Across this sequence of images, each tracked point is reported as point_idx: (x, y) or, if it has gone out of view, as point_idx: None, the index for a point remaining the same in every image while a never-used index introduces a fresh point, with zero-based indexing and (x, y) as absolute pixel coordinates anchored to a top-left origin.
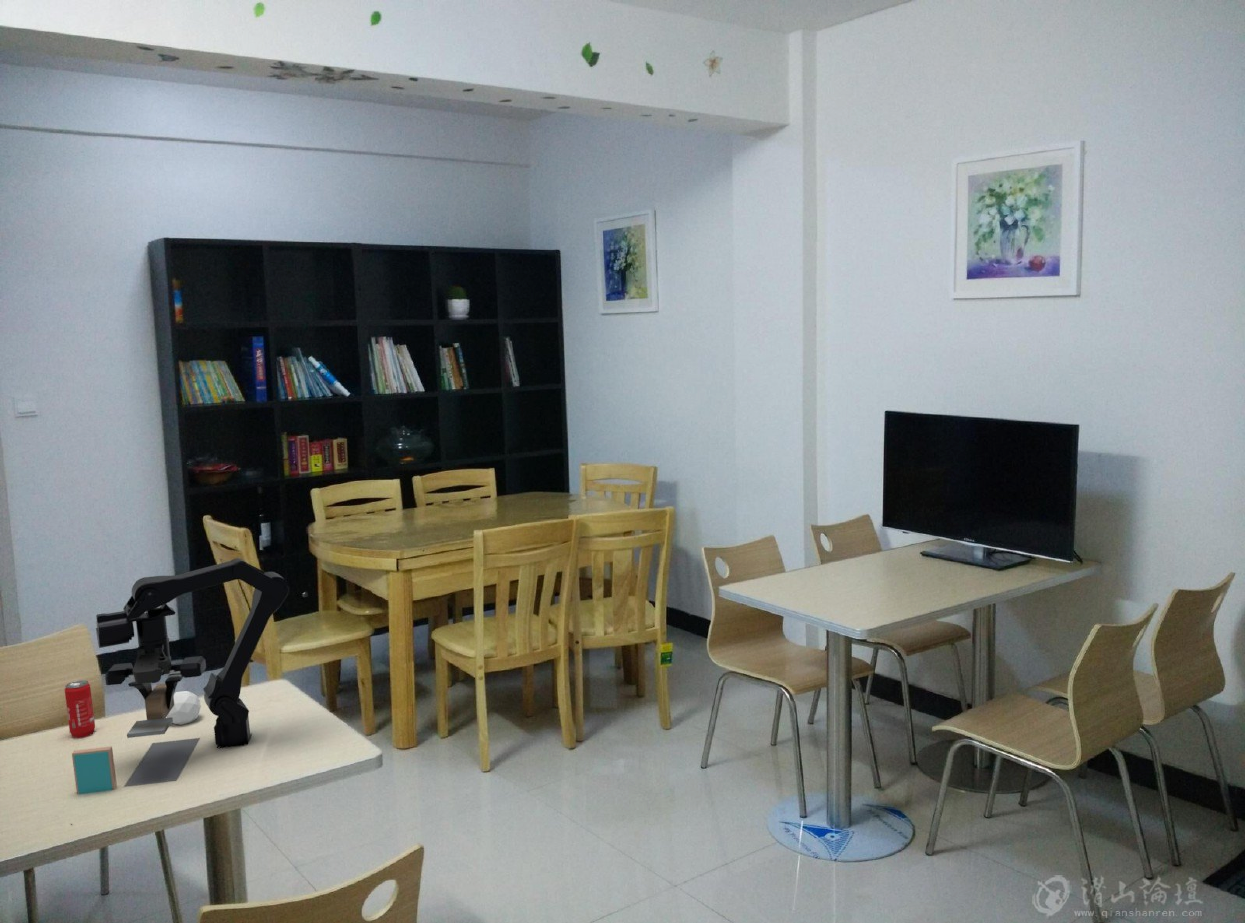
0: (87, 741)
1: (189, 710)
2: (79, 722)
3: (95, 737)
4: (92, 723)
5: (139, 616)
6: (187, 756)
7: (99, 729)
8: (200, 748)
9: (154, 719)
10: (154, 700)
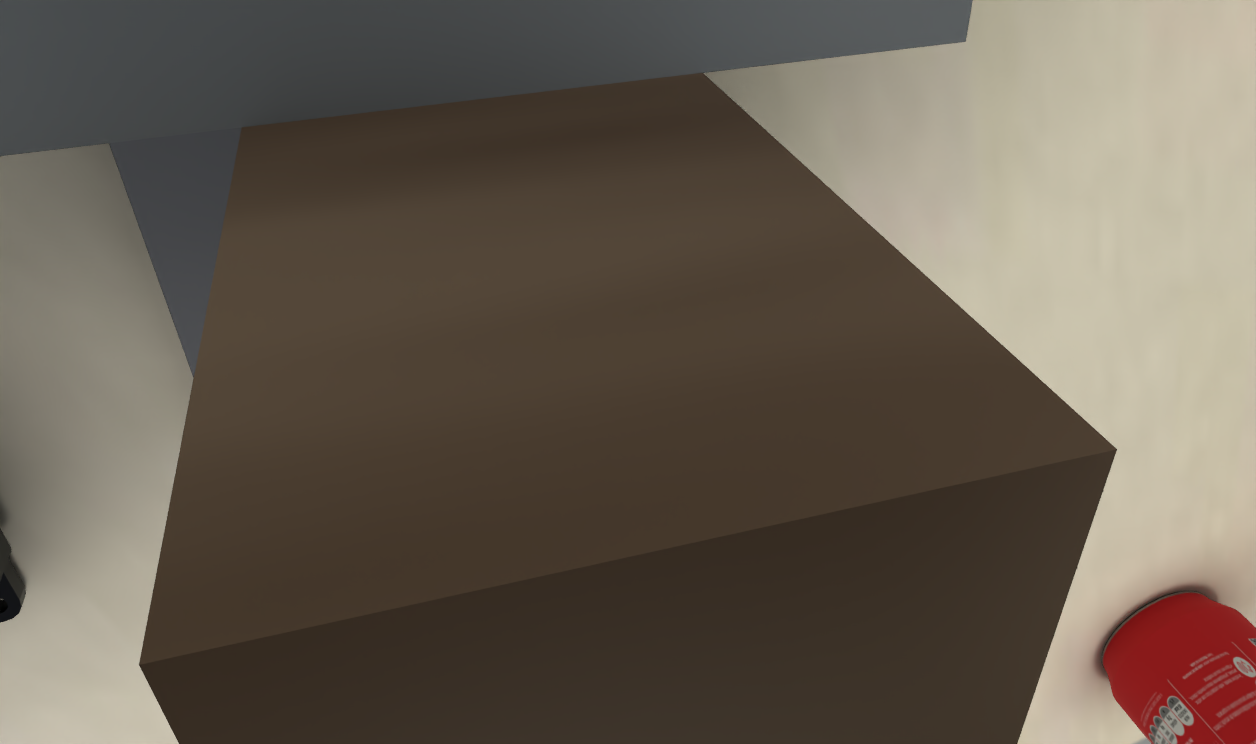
0: (1135, 552)
1: None
2: (1252, 674)
3: (1091, 600)
4: (1152, 696)
5: None
6: (153, 171)
7: (1072, 688)
8: (166, 420)
9: (478, 75)
10: (547, 533)
